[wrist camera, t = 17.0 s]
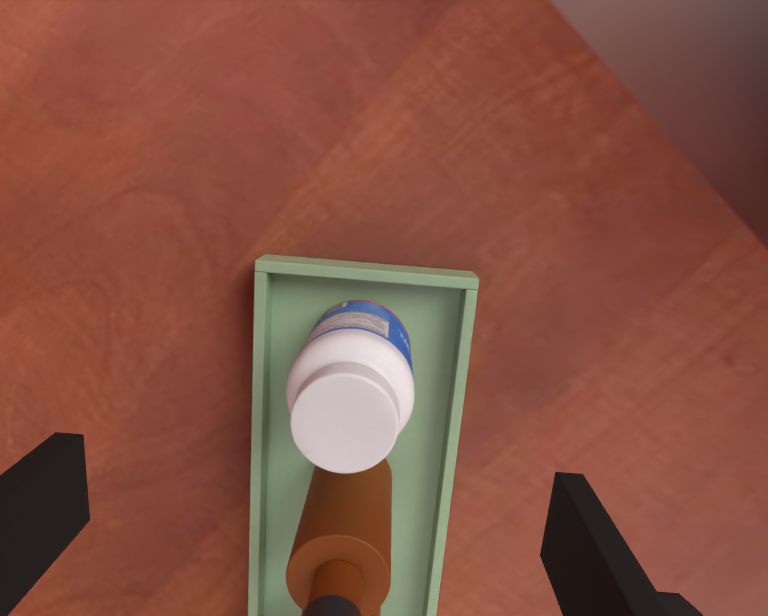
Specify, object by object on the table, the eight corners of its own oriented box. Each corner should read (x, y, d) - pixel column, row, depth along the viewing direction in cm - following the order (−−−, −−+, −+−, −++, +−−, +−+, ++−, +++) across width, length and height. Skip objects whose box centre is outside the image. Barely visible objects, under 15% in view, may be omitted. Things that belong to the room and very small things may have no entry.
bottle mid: (315, 438, 30) (269, 589, 19) (395, 444, 30) (395, 599, 19) (311, 508, 31) (266, 688, 20) (388, 514, 31) (385, 698, 20)
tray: (264, 253, 28) (254, 259, 26) (473, 271, 28) (479, 278, 26) (255, 635, 34) (246, 664, 32) (426, 649, 34) (428, 679, 32)
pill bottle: (405, 395, 29) (409, 501, 20) (308, 386, 29) (266, 488, 20) (415, 300, 28) (425, 365, 18) (314, 291, 28) (272, 350, 18)
